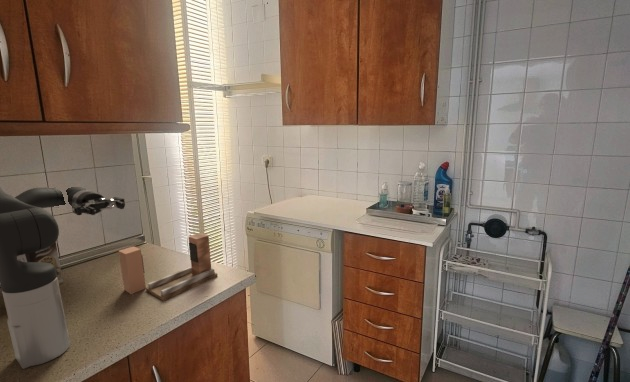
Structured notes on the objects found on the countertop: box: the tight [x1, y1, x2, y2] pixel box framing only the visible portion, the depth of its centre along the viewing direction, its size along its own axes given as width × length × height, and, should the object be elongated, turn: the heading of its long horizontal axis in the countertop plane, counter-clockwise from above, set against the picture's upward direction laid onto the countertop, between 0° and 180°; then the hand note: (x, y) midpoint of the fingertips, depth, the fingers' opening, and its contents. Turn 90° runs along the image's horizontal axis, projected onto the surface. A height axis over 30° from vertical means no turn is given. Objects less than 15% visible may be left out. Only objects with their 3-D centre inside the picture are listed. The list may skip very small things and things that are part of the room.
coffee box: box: [17, 241, 64, 285], centre depth 103 cm, size 9×6×16 cm
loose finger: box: [118, 245, 147, 295], centre depth 102 cm, size 5×4×13 cm
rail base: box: [145, 232, 218, 302], centre depth 105 cm, size 19×10×14 cm, turn 143°
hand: (108, 208), depth 105 cm, fingers open, 8 cm apart
